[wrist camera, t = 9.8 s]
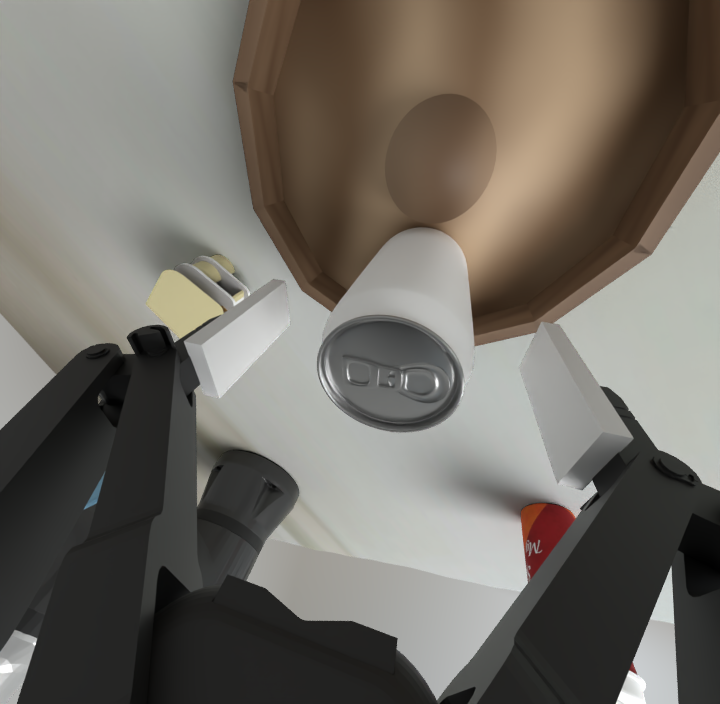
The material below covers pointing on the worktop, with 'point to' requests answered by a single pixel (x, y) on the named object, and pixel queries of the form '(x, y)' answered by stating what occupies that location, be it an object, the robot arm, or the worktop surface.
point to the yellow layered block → (196, 293)
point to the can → (402, 336)
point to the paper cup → (540, 538)
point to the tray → (531, 98)
